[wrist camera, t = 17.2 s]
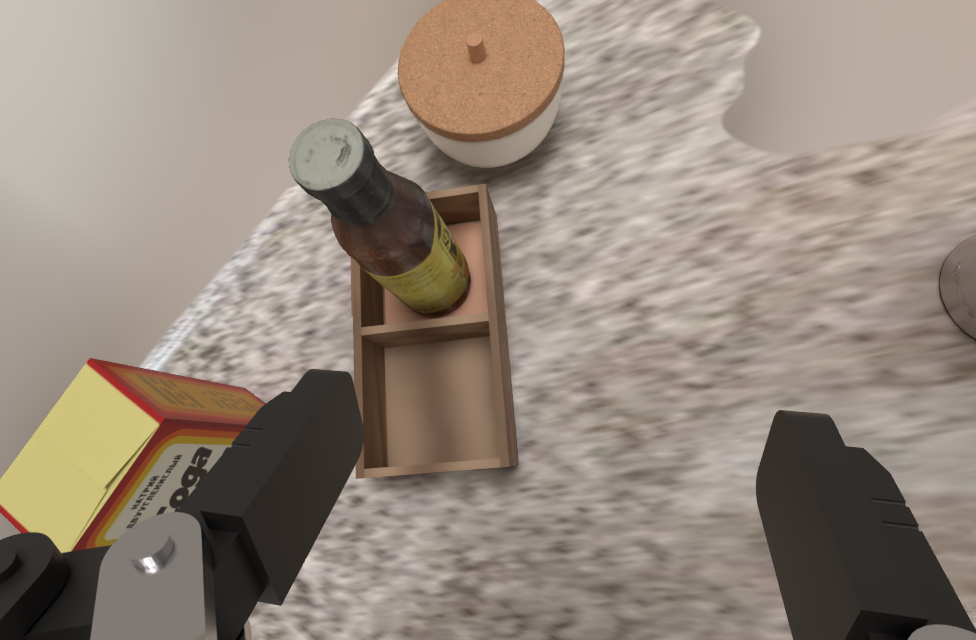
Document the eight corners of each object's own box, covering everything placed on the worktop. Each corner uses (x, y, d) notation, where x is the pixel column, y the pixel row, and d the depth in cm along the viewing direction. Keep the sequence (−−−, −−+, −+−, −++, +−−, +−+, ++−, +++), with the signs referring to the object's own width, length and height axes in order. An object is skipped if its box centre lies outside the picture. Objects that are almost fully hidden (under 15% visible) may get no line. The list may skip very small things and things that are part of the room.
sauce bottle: (488, 280, 45) (423, 150, 26) (435, 334, 44) (328, 245, 25) (435, 230, 46) (336, 75, 27) (383, 282, 46) (246, 162, 27)
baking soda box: (233, 529, 44) (51, 570, 29) (178, 483, 46) (-21, 499, 31) (301, 429, 45) (160, 417, 30) (244, 388, 47) (84, 356, 32)
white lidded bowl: (419, 189, 49) (375, 117, 38) (438, 67, 52) (402, -32, 41) (560, 194, 47) (555, 118, 36) (572, 66, 49) (571, -39, 39)
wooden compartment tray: (496, 216, 47) (485, 183, 41) (518, 464, 42) (509, 466, 36) (373, 233, 49) (346, 204, 43) (380, 475, 43) (350, 479, 38)
